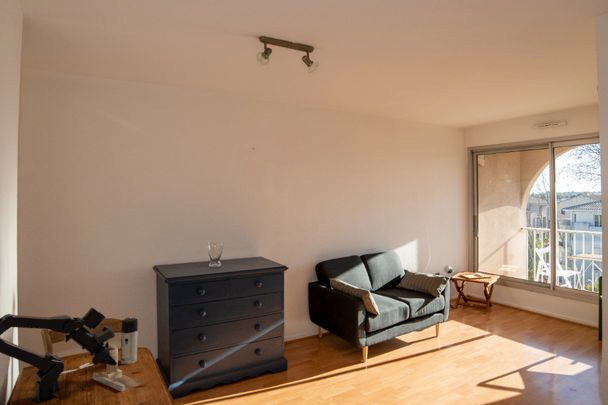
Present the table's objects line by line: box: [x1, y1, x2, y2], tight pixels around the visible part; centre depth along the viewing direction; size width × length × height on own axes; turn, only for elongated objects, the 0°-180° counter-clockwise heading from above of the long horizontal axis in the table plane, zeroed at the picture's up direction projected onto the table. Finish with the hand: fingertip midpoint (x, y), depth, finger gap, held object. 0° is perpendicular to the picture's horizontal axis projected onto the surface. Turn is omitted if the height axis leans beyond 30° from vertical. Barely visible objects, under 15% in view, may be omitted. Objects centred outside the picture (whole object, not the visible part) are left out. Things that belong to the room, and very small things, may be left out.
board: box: [92, 372, 143, 393], centre depth 154 cm, size 9×20×4 cm, turn 57°
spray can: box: [120, 317, 139, 365], centre depth 175 cm, size 7×7×20 cm
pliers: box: [60, 362, 94, 375], centre depth 166 cm, size 10×2×15 cm
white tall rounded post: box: [101, 344, 123, 380], centre depth 157 cm, size 6×5×13 cm
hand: (116, 362), depth 158 cm, fingers open, 5 cm apart
